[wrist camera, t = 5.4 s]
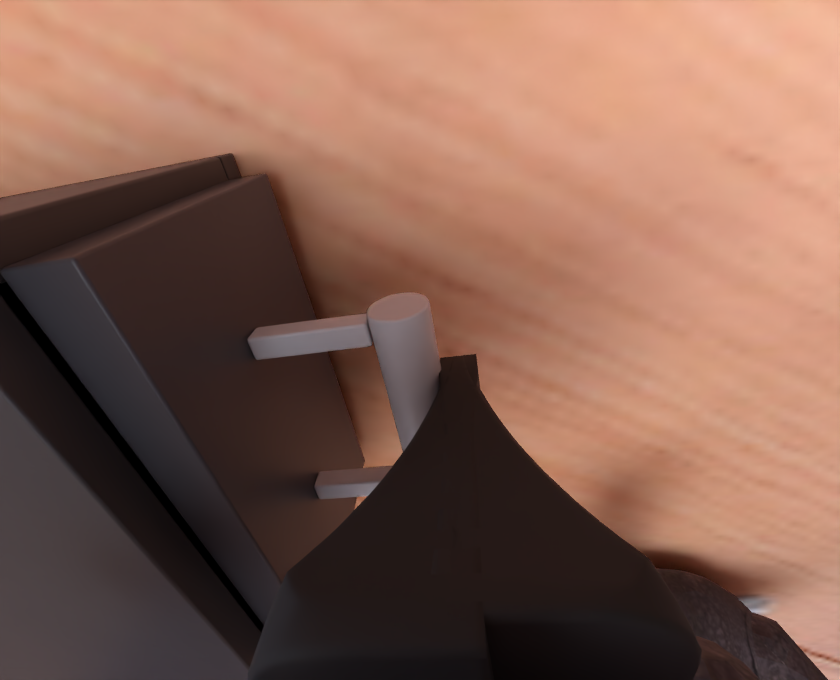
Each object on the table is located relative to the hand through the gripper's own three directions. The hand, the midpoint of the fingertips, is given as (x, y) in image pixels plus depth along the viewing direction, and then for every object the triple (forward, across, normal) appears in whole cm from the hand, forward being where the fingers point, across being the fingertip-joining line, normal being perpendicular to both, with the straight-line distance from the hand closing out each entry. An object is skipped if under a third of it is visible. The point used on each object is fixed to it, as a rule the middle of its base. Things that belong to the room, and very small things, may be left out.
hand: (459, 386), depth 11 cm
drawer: (+3, +9, 0) cm, 9 cm away
